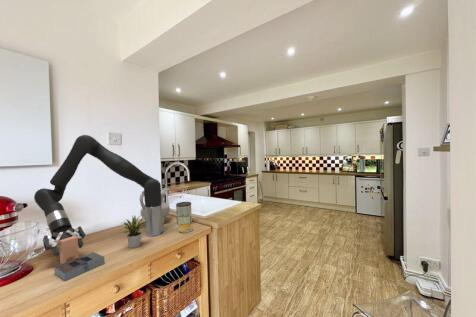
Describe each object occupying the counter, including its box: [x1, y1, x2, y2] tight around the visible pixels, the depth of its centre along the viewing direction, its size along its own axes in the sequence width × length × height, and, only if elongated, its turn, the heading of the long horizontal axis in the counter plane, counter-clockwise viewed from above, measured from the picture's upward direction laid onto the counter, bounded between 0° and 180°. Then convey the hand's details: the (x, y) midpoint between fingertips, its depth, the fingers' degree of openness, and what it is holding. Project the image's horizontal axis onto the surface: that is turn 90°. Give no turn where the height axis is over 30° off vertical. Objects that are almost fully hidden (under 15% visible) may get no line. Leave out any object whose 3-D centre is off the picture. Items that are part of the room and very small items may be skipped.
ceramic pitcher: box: [139, 187, 171, 223], centre depth 141 cm, size 22×20×25 cm
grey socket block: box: [53, 251, 105, 282], centre depth 84 cm, size 14×10×3 cm
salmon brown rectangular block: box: [58, 236, 79, 265], centre depth 90 cm, size 6×4×11 cm, turn 150°
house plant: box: [121, 215, 150, 249], centre depth 103 cm, size 14×14×16 cm
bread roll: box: [177, 224, 194, 234], centre depth 124 cm, size 8×9×4 cm
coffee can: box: [175, 201, 193, 226], centre depth 139 cm, size 10×10×14 cm
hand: (70, 251), depth 89 cm, fingers open, 8 cm apart
